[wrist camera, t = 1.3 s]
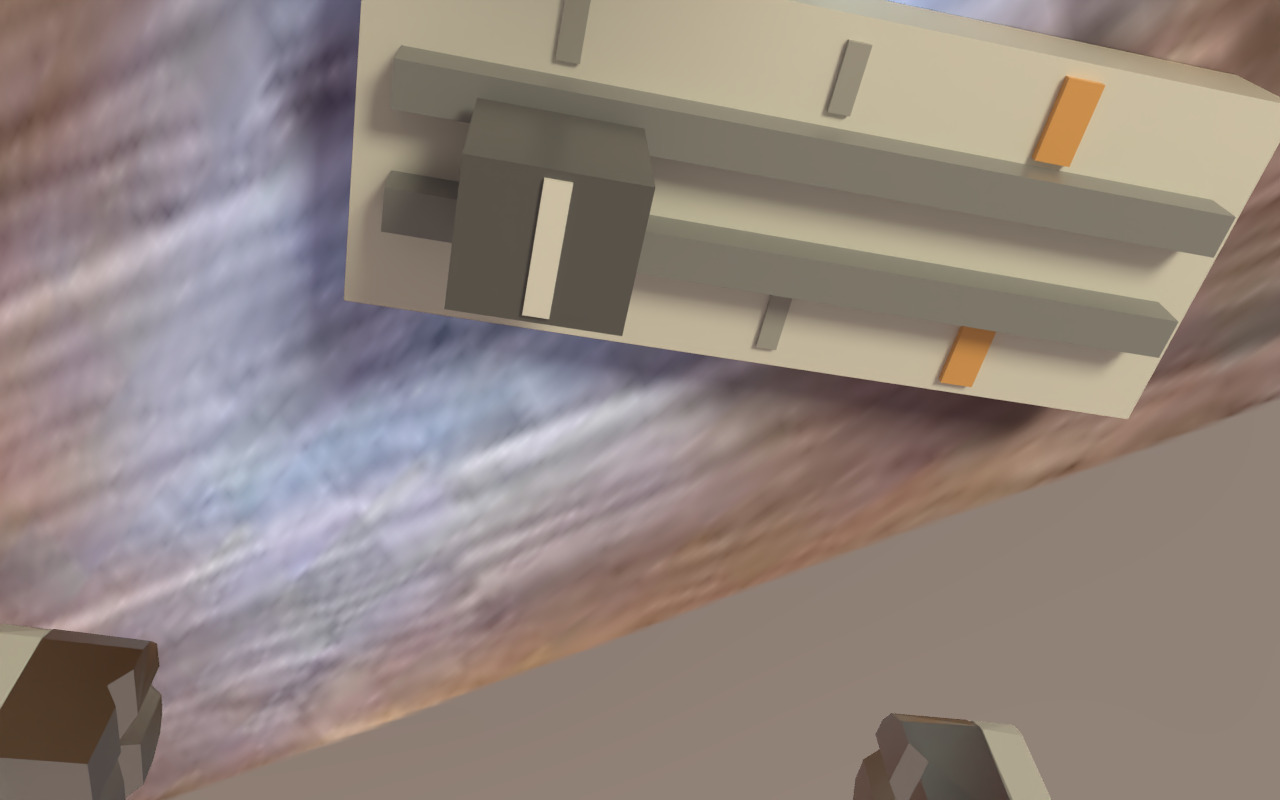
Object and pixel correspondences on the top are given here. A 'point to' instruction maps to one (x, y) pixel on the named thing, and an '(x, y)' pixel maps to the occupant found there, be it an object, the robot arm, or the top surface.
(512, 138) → the fader tab
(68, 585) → the top surface
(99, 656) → the robot arm
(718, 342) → the fader console
